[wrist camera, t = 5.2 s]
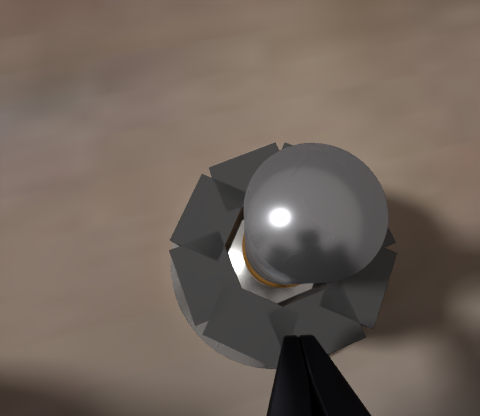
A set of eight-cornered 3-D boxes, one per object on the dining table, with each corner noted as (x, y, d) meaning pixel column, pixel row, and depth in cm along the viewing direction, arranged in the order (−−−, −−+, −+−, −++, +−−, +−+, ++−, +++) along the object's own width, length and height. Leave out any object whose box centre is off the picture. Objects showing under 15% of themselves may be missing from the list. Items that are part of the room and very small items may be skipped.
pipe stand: (327, 400, 16) (555, 717, 4) (141, 312, 18) (-86, 369, 6) (389, 211, 19) (649, 75, 7) (221, 146, 20) (184, -69, 8)
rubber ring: (330, 381, 13) (350, 403, 11) (157, 301, 14) (138, 304, 11) (387, 208, 15) (416, 192, 12) (230, 146, 16) (227, 120, 13)
